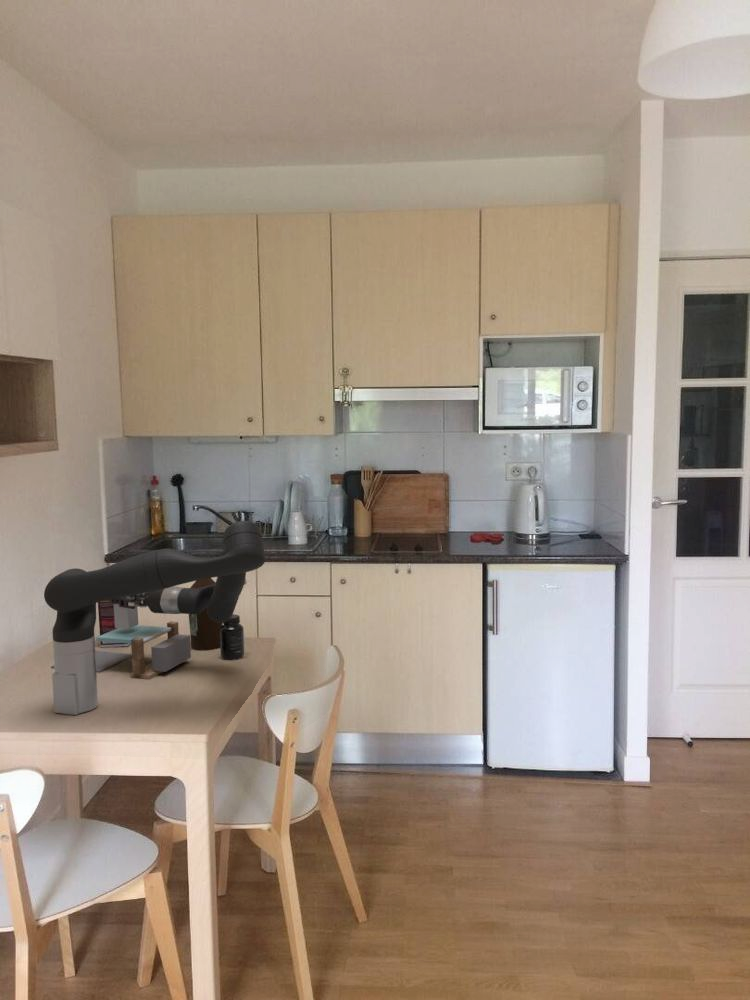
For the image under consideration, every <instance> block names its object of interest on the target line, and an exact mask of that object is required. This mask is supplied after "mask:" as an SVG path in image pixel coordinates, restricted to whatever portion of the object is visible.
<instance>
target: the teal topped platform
mask: <svg viewBox="0 0 750 1000" xmlns="http://www.w3.org/2000/svg"><path fill="white" fill-rule="evenodd" d="M171 630H172V629H171V627H167V626H155V625H142V624H141V625H140V624H138V625H136V626H134V627H132V628H129V629H126V628H117V629H115V630H113V631H110V632H108V633H105V634H103V635H101V636H100V635H99V636H96V638H95V641H96V642H100V641H105V642H117V643H130V645H131V639H133V638H135V637H136V638H143V643H144V644H146V643H149V642H150V641H152V640H155V639H157V638H159V637H161V636H163V635H165V634H167V632H170V631H171ZM150 649H151V650H150V651H151V652H150V653H151V663H152V671H162V673H164V672H165V673H166V672H168V671H169V670H172V669H173V668H175V667H176V666H179V665H180V664H182V663H184V662H185V661H187V660H190V658H192V653H191V652H192V650H191V636H190V634H177V635H175V636H173V637H171V638H169V639H168V638H166V639H165V640H163V641H160V642H159V643H157V644H155V645H153V646H151V648H150Z"/></svg>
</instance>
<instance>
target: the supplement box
mask: <svg viewBox="0 0 750 1000" xmlns="http://www.w3.org/2000/svg"><path fill="white" fill-rule="evenodd" d="M97 610H98V613H97V615H98V626H99V628H98V629H99V636H101V635H103V634H105V633H108V632H110V631H113V630H115V629H117V628H115V619H114V604H111V603H110V599H108V600H104V601H101V602H98V603H97ZM99 642H100V648H117V647H119V648H120V647H121V648H122V646H125V647H129V646H130V645H131V644H130V643H117V642H105V641H99Z"/></svg>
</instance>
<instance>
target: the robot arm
mask: <svg viewBox="0 0 750 1000" xmlns="http://www.w3.org/2000/svg"><path fill="white" fill-rule="evenodd" d="M222 538H223V539H222V543H223V544H222V545H223V552H222V555H221V556H217V557H200V556H199V557H198V556H195V555H192V554H189V553H186V552H183V551H180V550H178V549H173V548H162V549H157V550H152V551H148V552H144V553H141V554H138V555H134V556H130V557H129V558H126V559H123V560H121V561H119V562H115V563H114V564H111V565H108V566H106V567H103V568H100V569H95V570H90V571H86V570H84V569H82V568H69V569H66V570H64V571H63V572H61V573H59V574H57V575H55V576H54V577H53V578H51V579H50V581H48V582H47V584H46V586H45V588H44V592H43V597H44V601H45V603H46V604H47V606H48V607H49V608H51V609H52V610H54V611H56V617H55V618H56V619H55V621H54V625H53V627H52V643H53V644H52V646H53V647H52V648H53V662H54V663H53V664H54V666H55V668H54V672H53V673H52V675H51V676H52V677H51V679H52V693H53V694H52V695H53V709H54V711H53V712H54V713H56V714H64V715H71V716H72V715H73V716H74V715H75V716H77V715H79V714H82V713H86V712H90V711H92V710H94V709H96V708H97V707H98V706H99V696H98V695H99V694H98V693H99V691H98V678H97V677H98V676H97V673H98V672H96V655H95V651H96V645H95V644H96V642H95V641H96V638H95V626H96V622H97V604H98V602H101V601H104V600H108V599H110V603H111V604H119V607H123V608H130V609H135V607H137V608H138V607H139V608H148V609H149V611H150V612H152V613H154V614H163V615H165V614H167V615H189V614H200V613H202V612H203V611H204V610H205V609H206V607H207V614H208V616H209V618H210V619H211V620H213V621H215V622H218V623H223V622H226V621H228V620H229V619H231V617H232V615H233V614H234V612H235V610H236V606H237V604H238V600H239V597H240V596H241V594H242V591H243V588H244V586H245V584H246V583H245V582H246V576H247V573H249V572H252V571H256V570H258V569H260V568H261V567H262V566H263V565H265V562H266V553H265V547H264V540H263V534H262V531H261V528H260V527H259V525H257V523H255V522H254V521H249V520H239V521H236V522H233V523H231V524H229V525H228V526H227V527H226V528H225V529H224V532H223V537H222ZM207 578H211V579H212V578H213V579H214V578H216V580H215V582H216V583H215V584H213V585H209V586H205V587H201V588H190V587H181V586H180V585H184V584H188V583H192V582H196V581H197V580H202V579H207ZM133 596H134V599H133Z"/></svg>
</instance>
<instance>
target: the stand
mask: <svg viewBox="0 0 750 1000" xmlns="http://www.w3.org/2000/svg"><path fill="white" fill-rule="evenodd" d="M166 627H171V629H172V630H171V631H170V632H167V633H166V634H167V635H166V636H167V639H169V638H171V637H173V636H175V635H177V634H179V622H178V621H168V622H167V623H166ZM144 644H145V643H143V638H136V637H135V638H133V639H131V644H130V645H131V648H130V649H131V654H132V657H131V664H132V665H131V666H132V672H131V673H130V674H129V675H130V677H132V679H140V678H144V680H151V679H153V678H155V677H157V676H159V675H160V674H162V673H163V672H162V671H152V662H150V663H149V664H147V665H145V650H144V648H145V647H144V646H145V645H144ZM158 674H159V675H158ZM130 677H129V678H130Z"/></svg>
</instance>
